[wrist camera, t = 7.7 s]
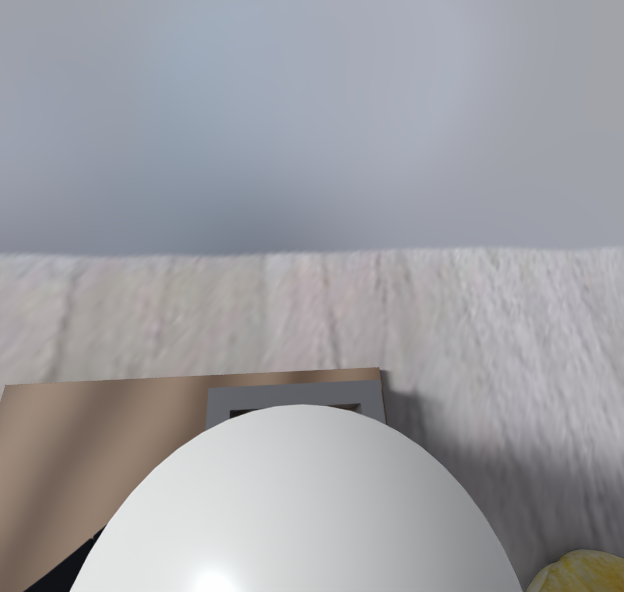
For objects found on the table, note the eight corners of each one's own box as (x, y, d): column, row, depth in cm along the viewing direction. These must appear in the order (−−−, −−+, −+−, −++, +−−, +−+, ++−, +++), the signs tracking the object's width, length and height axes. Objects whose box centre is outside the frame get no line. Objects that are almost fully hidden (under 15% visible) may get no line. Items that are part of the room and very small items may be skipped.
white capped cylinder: (376, 499, 15) (664, 721, 3) (285, 588, 13) (206, 1612, 2) (308, 406, 16) (334, 327, 5) (220, 477, 15) (-55, 617, 3)
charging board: (376, 369, 22) (379, 367, 22) (406, 589, 17) (410, 596, 17) (15, 386, 21) (5, 385, 20) (-60, 631, 16) (-77, 640, 15)
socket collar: (367, 387, 21) (379, 379, 18) (388, 567, 17) (409, 597, 14) (222, 395, 20) (208, 387, 17) (212, 582, 17) (191, 616, 13)
